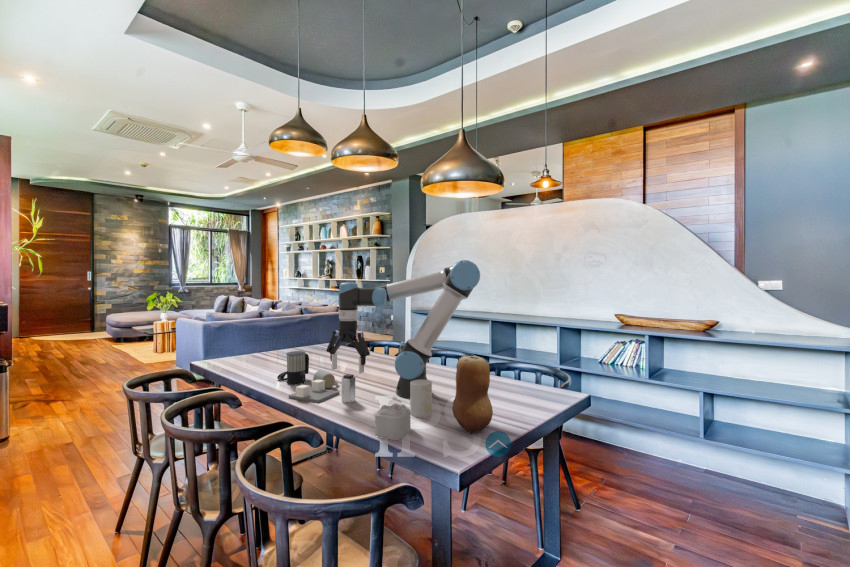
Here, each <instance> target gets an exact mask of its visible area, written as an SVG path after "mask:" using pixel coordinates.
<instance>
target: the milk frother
mask: <svg viewBox="0 0 850 567" xmlns="http://www.w3.org/2000/svg"><path fill="white" fill-rule="evenodd" d="M285 354H286V371H284V372H281V373H279V374H277V376H276V378H277V380H278V381H281V380H285V381H286V384H287V385H290V384H298V385H302V384H301V383H303V384H305V383H306V382H307V380H306V375H308V374H309V369H310V356H309V354H308V353H306V351H303V350H295V351H294V350H293V351H287V352H286V353H285ZM304 382H305V383H304Z"/></svg>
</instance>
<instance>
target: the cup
mask: <svg viewBox="0 0 850 567" xmlns="http://www.w3.org/2000/svg"><path fill="white" fill-rule="evenodd" d="M432 388H433V382H432V381H431V380H429V379H427V380H413V381H411V382H410V398H409V401H410V403H409V404H410V407H409V408H410V416H412V417H415V418H427V417H430V416H432V414H433V409H432V408H433V406H432V404H433V399H432V398H433V394H432V392H433V391H432V390H433V389H432Z"/></svg>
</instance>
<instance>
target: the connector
mask: <svg viewBox="0 0 850 567" xmlns="http://www.w3.org/2000/svg"><path fill="white" fill-rule="evenodd" d="M353 401H354V402H355V401H356V376H354V374H351V373H347V374H344V375H343V376H342V378H341V403H344V402H348V403H347V404H351V403H350V402H352V403H353Z"/></svg>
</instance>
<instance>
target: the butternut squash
mask: <svg viewBox="0 0 850 567" xmlns="http://www.w3.org/2000/svg"><path fill="white" fill-rule="evenodd" d="M490 370H491V369H490V364H489V362H488V361H487V360H486V359H485V358H484V357H481V356H477V355H473V356H472V355H471V356H470V355H464V356H461V357H460V358H459V359H458V362H457V363H456V373H455V396H454V400H453V402H452V413H453V416H454V418H455V419H456V421H457V423H458V424H459V426H460V427H461V428H462V429H463V430H464V431H465V432H467V433H469V434H474V433H479V432H482V431H483V430H484V429H486V428H487V427H488V426H489V425H490V423H491V421H492V419H493V416H494V414H493V411H494V410H493V405H492V403H491V400H490V397H489V394H488V392H489V388H490V380H491V379H490V378H491V377H490V376H491V375H490V374H491V371H490Z"/></svg>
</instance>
